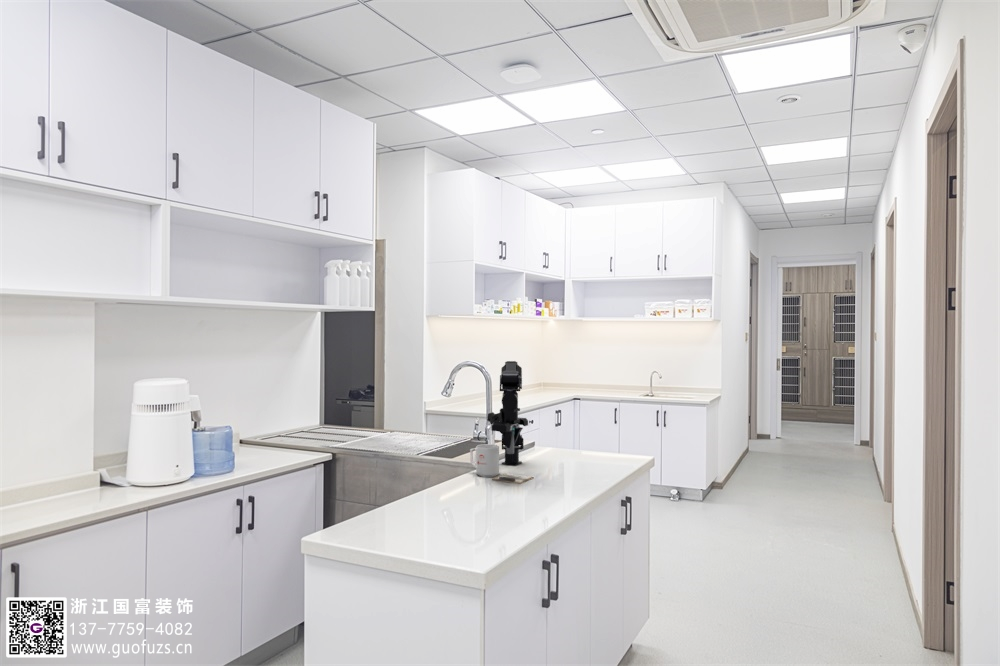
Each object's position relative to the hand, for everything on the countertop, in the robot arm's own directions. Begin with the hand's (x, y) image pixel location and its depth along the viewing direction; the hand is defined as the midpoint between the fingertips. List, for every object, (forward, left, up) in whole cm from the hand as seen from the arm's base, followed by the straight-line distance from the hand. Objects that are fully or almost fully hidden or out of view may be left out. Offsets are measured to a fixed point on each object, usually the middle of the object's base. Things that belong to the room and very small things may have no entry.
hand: (510, 447), depth 250 cm
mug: (-3, -13, -12) cm, 18 cm away
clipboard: (-1, 0, -12) cm, 12 cm away
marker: (0, 0, -2) cm, 2 cm away
